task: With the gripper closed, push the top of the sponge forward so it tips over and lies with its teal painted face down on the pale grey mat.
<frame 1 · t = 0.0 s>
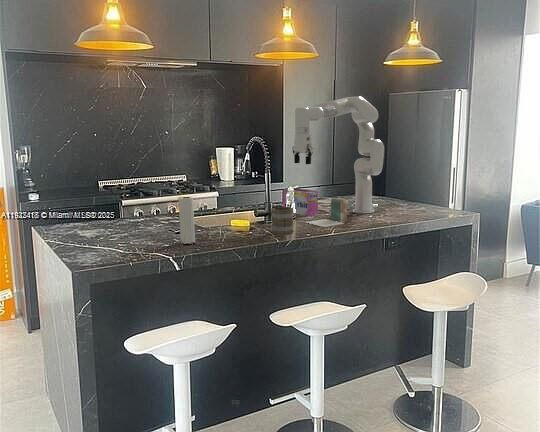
hand: (302, 163, 287), 31 cm above the countertop, tool pointing down, fingers open, 9 cm apart
mat: (324, 223, 286), on the countertop
sponge: (338, 221, 291), on the countertop
paper towel roll: (188, 244, 245), on the countertop
mug: (281, 232, 267), on the countertop
gum box: (300, 213, 319), on the countertop
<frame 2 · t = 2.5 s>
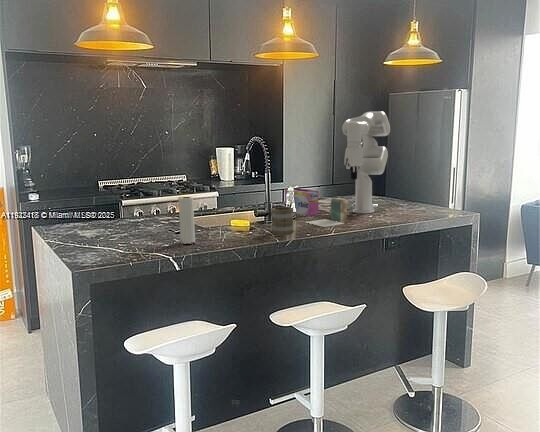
hand: (353, 179, 293), 22 cm above the countertop, tool pointing down, fingers closed
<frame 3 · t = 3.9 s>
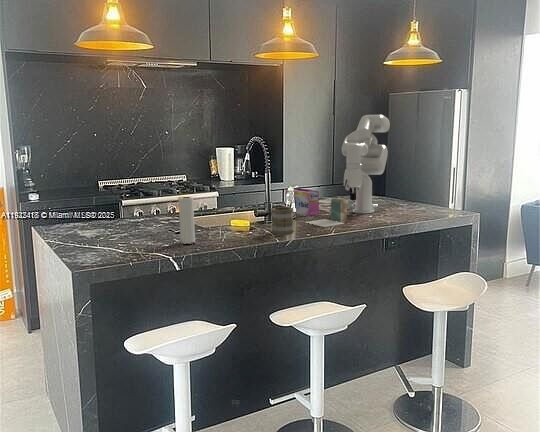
hand: (353, 200, 295), 10 cm above the countertop, tool pointing down, fingers closed
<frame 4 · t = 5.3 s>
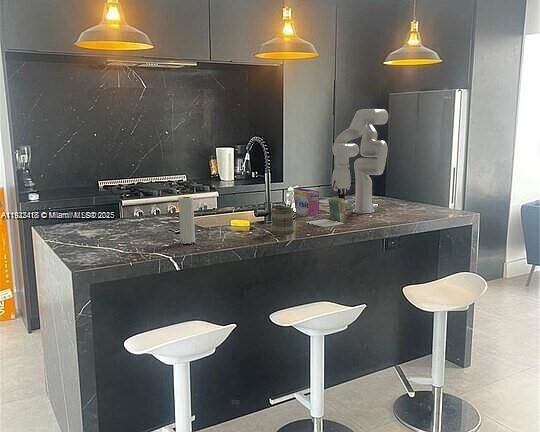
hand: (341, 201, 290), 11 cm above the countertop, tool pointing down, fingers closed
sponge: (338, 220, 291), on the countertop, tilted 9°
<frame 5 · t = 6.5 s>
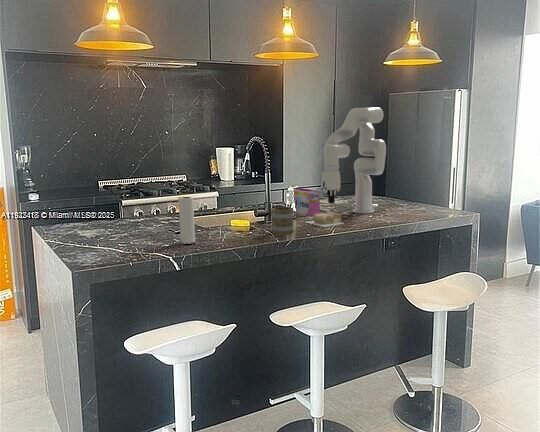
hand: (331, 202, 286), 10 cm above the countertop, tool pointing down, fingers closed
sponge: (335, 216, 290), point 3 cm above the countertop, tilted 90°, touching mat
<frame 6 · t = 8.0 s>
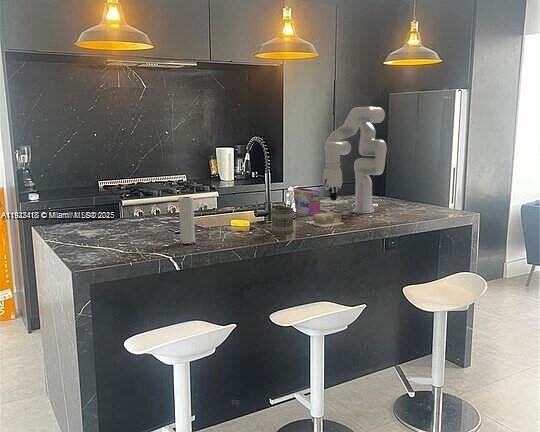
hand: (333, 200, 287), 12 cm above the countertop, tool pointing down, fingers closed
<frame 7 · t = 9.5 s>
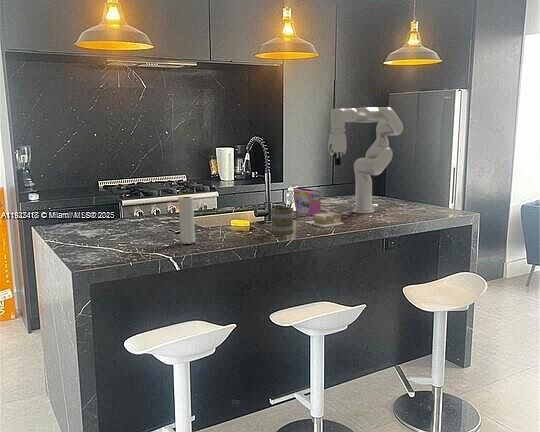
hand: (337, 165, 299), 29 cm above the countertop, tool pointing down, fingers closed
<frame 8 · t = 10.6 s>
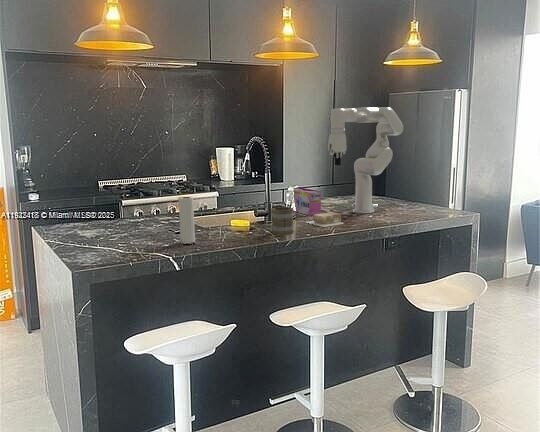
hand: (337, 165, 299), 29 cm above the countertop, tool pointing down, fingers closed
at the end: sponge tilted 90°; sponge inside the target area (2.0 cm from its centre), point 2.6 cm above the countertop; sponge touching mat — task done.
